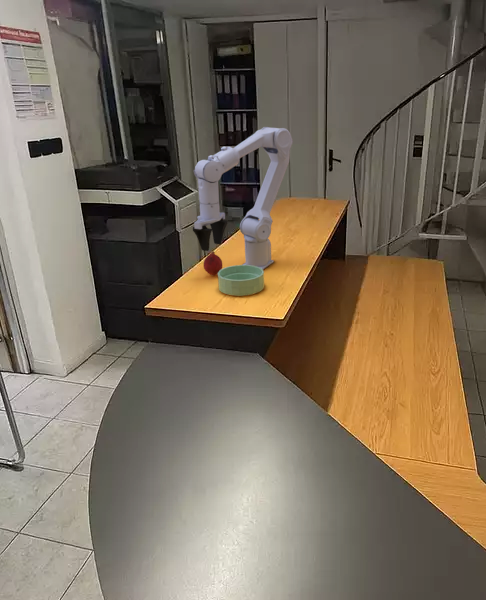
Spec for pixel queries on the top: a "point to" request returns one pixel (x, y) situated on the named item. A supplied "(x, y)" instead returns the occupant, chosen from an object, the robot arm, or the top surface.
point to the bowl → (241, 280)
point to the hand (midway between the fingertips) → (211, 247)
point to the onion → (212, 264)
